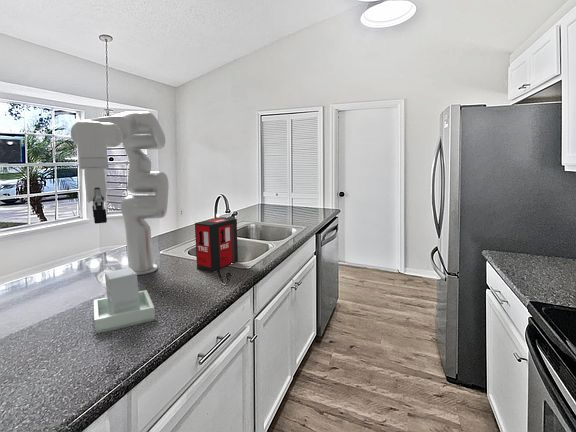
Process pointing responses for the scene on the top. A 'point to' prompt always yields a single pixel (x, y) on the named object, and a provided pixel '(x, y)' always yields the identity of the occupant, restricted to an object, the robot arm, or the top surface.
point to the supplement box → (122, 291)
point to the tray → (122, 314)
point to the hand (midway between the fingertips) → (100, 220)
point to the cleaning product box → (216, 243)
